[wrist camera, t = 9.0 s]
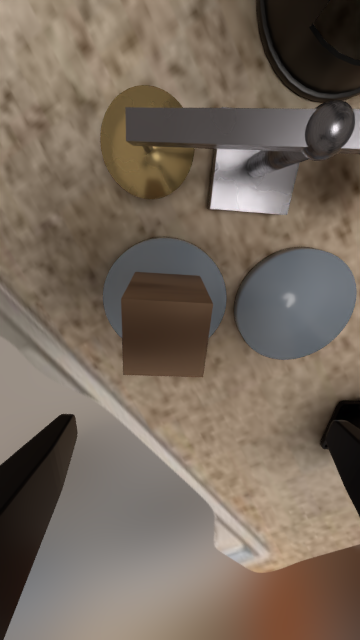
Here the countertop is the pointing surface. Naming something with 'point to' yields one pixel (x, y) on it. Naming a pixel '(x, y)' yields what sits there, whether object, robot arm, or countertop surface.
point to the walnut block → (165, 325)
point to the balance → (221, 147)
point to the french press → (305, 51)
